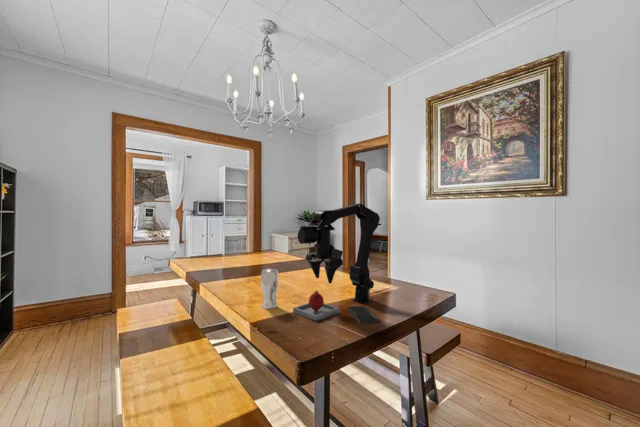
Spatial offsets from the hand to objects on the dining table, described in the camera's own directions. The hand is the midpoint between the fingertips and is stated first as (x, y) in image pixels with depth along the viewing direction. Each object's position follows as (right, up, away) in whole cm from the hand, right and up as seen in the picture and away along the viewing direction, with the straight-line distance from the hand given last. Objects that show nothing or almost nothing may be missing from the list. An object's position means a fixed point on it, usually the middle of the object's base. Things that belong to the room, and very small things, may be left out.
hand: (323, 280), depth 112 cm
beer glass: (-22, -12, +2) cm, 25 cm away
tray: (-3, -12, -4) cm, 12 cm away
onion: (-3, -11, -4) cm, 12 cm away
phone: (+15, -12, -6) cm, 20 cm away
